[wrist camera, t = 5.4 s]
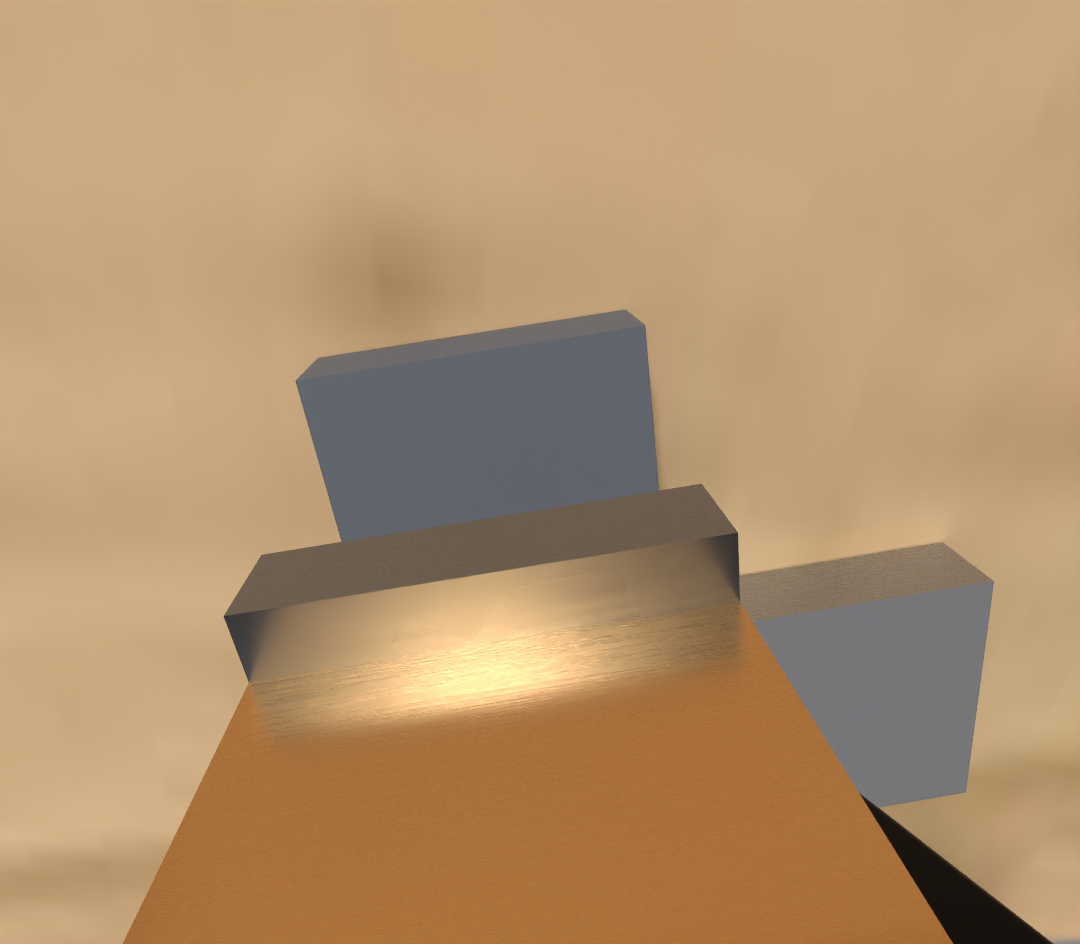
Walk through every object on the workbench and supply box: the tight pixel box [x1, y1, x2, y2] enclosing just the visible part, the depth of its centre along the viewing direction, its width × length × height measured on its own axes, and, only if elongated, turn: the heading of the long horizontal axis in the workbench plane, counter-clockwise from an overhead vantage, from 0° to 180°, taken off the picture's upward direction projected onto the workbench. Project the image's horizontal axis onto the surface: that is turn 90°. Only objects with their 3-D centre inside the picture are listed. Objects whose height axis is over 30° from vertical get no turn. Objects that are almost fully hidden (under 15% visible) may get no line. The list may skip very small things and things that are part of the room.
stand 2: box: [739, 542, 994, 807], centre depth 19 cm, size 7×7×2 cm
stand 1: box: [296, 310, 659, 542], centre depth 16 cm, size 7×7×2 cm
